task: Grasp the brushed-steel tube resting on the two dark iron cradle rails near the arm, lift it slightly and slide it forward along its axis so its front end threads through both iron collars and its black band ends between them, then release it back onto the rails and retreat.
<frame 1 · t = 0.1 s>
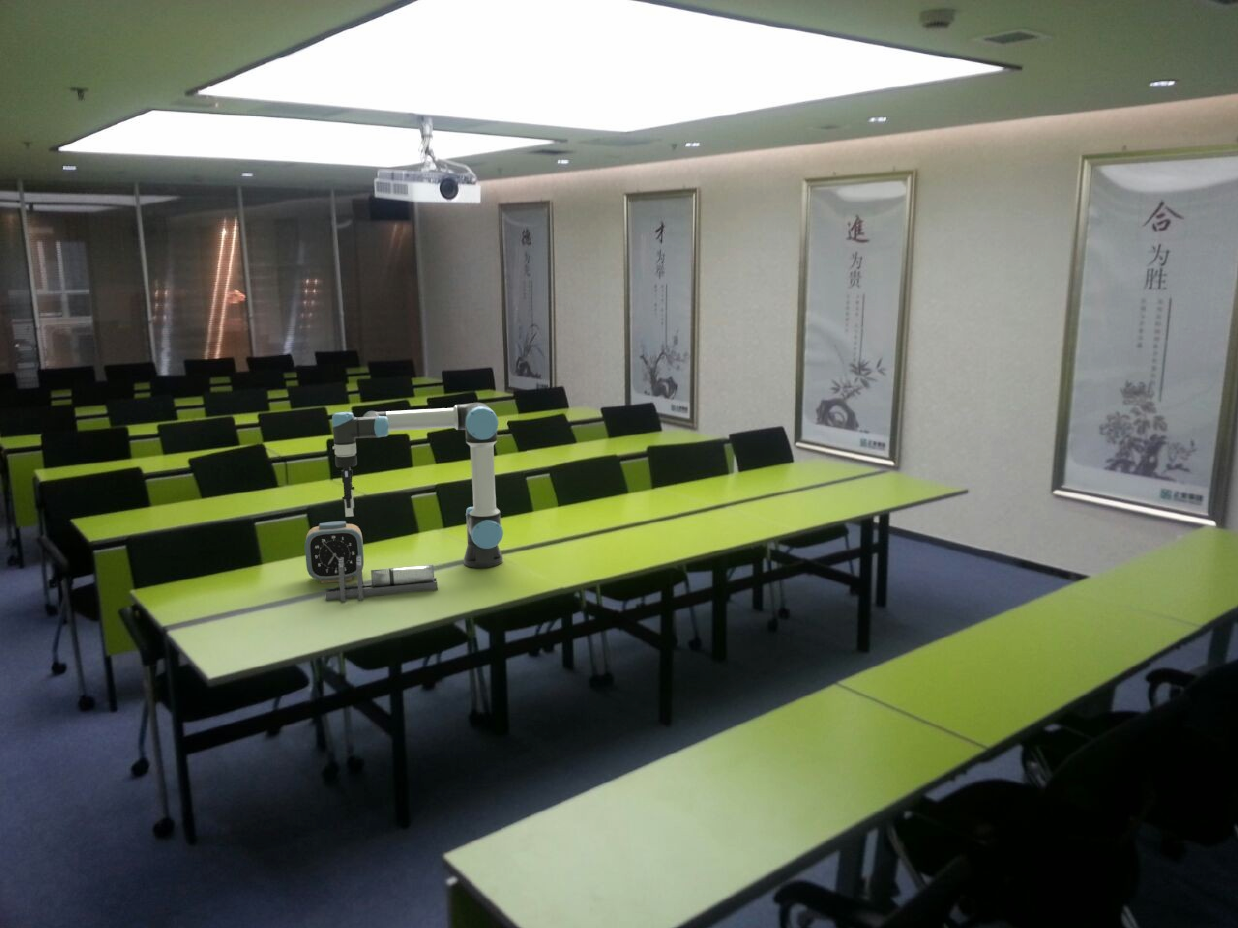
hand: (349, 512, 342), 28 cm above the table, fingers open, 13 cm apart
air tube: (403, 583, 339), point 3 cm above the table, touching gray metal rack
gray metal rack: (386, 592, 338), on the table
alarm clock: (336, 579, 355), on the table
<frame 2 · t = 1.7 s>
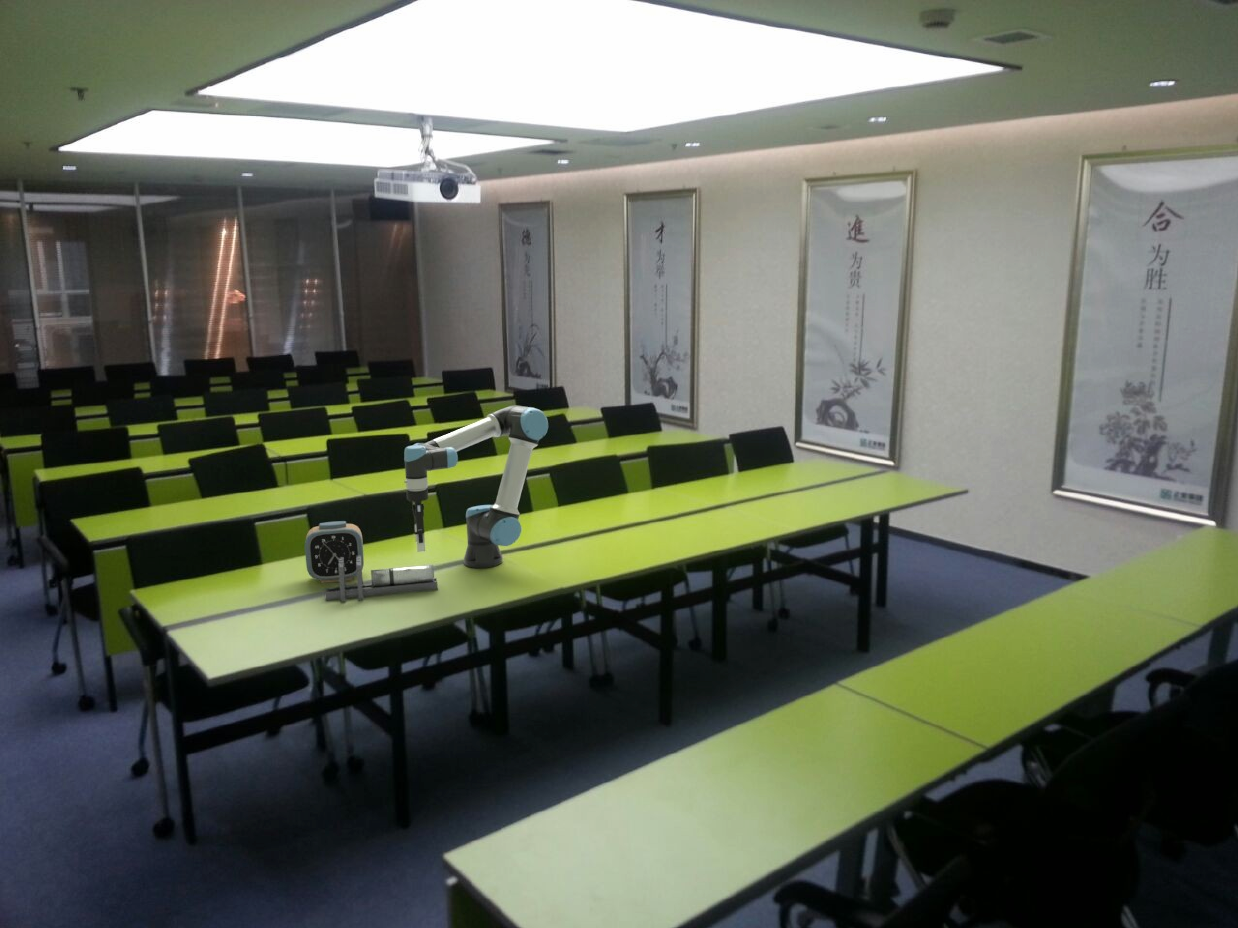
hand: (420, 546, 338), 16 cm above the table, fingers open, 13 cm apart
nothing on the table moved.
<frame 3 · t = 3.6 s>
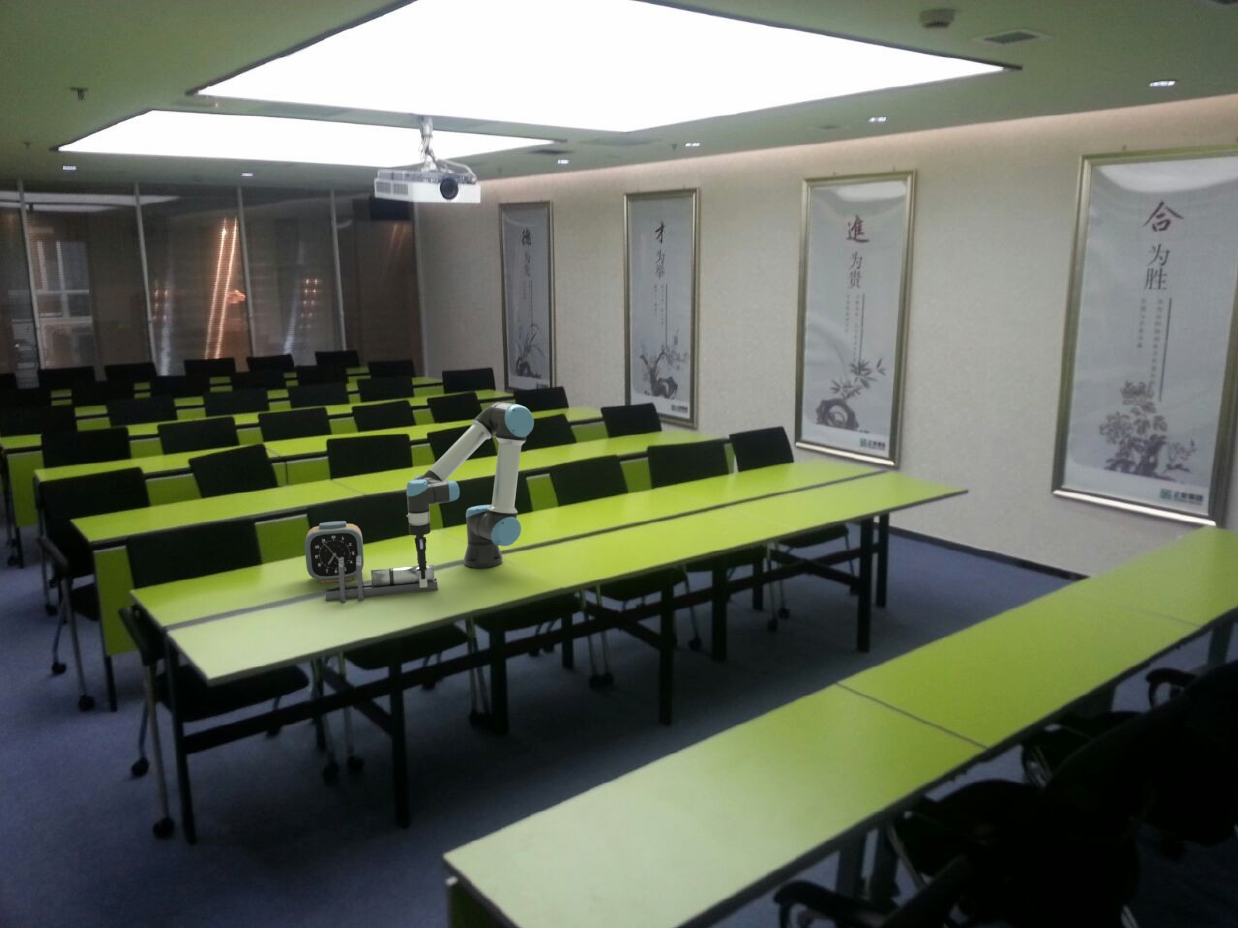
hand: (423, 584, 341), 2 cm above the table, fingers closed on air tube, 6 cm apart
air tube: (403, 583, 339), point 3 cm above the table, touching gray metal rack, gripper
everything else where it was.
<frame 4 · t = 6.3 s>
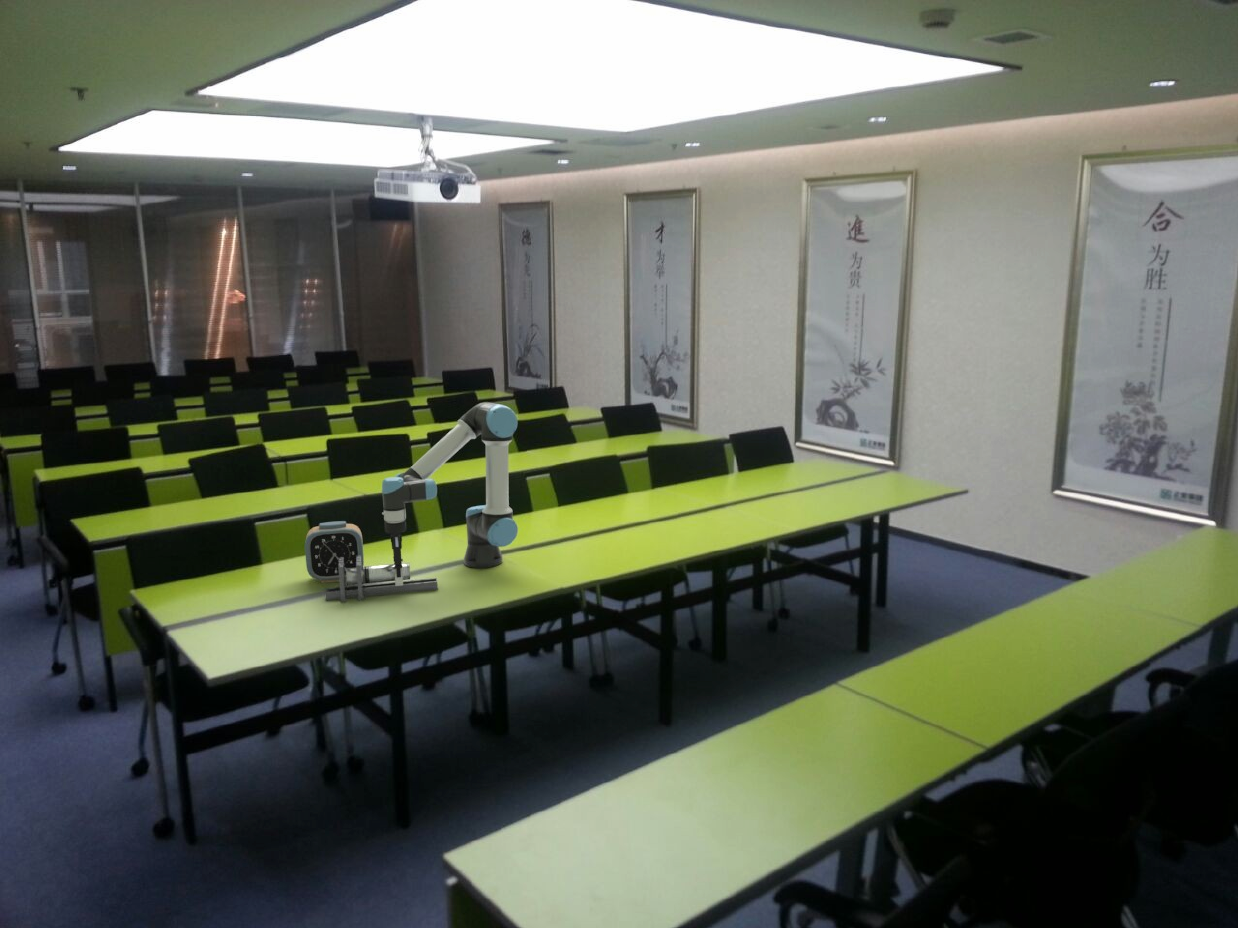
hand: (398, 582, 338), 3 cm above the table, fingers closed on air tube, 6 cm apart
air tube: (378, 581, 336), point 4 cm above the table, touching gripper
everything else where it was.
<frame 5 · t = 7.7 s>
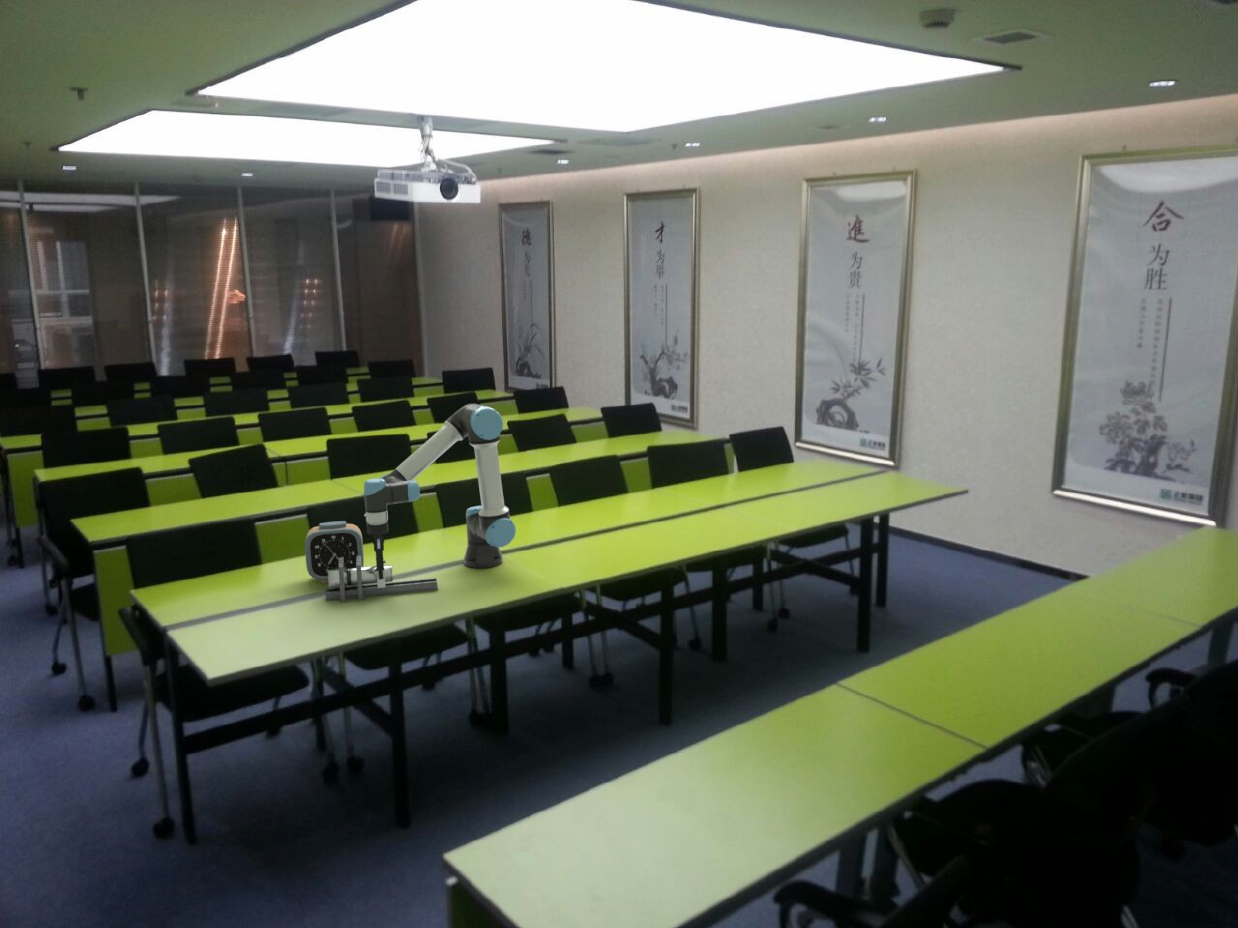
hand: (381, 584, 337), 3 cm above the table, fingers closed on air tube, 6 cm apart
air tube: (361, 583, 335), point 4 cm above the table, touching gripper
everything else where it was.
when the fingers open (3 cm above the table, at t = 8.9 s): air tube drops 1 cm, resting on gray metal rack.
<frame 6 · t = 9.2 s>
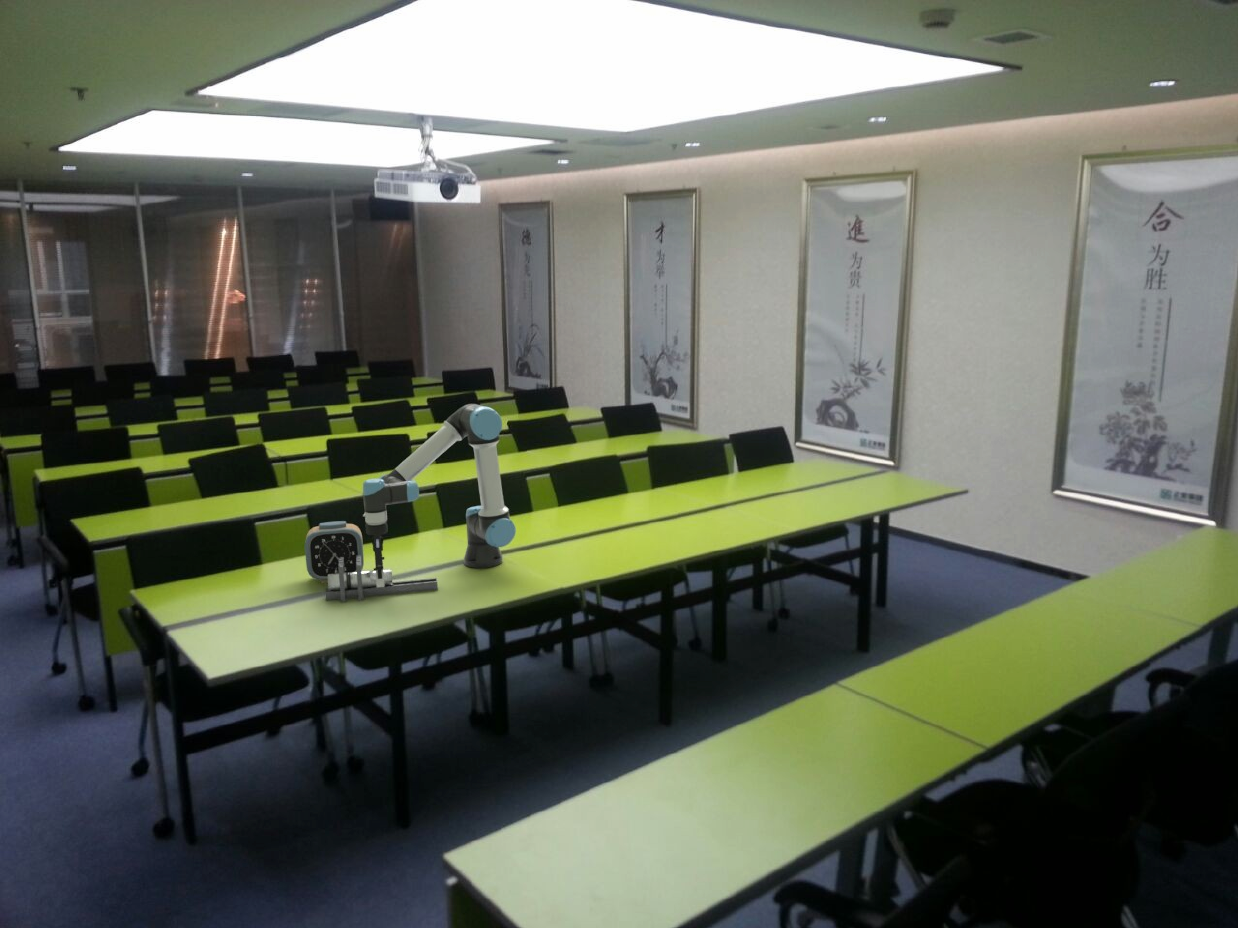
hand: (380, 582, 337), 4 cm above the table, fingers open, 10 cm apart
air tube: (361, 587, 335), point 3 cm above the table, touching gray metal rack
everything else where it was.
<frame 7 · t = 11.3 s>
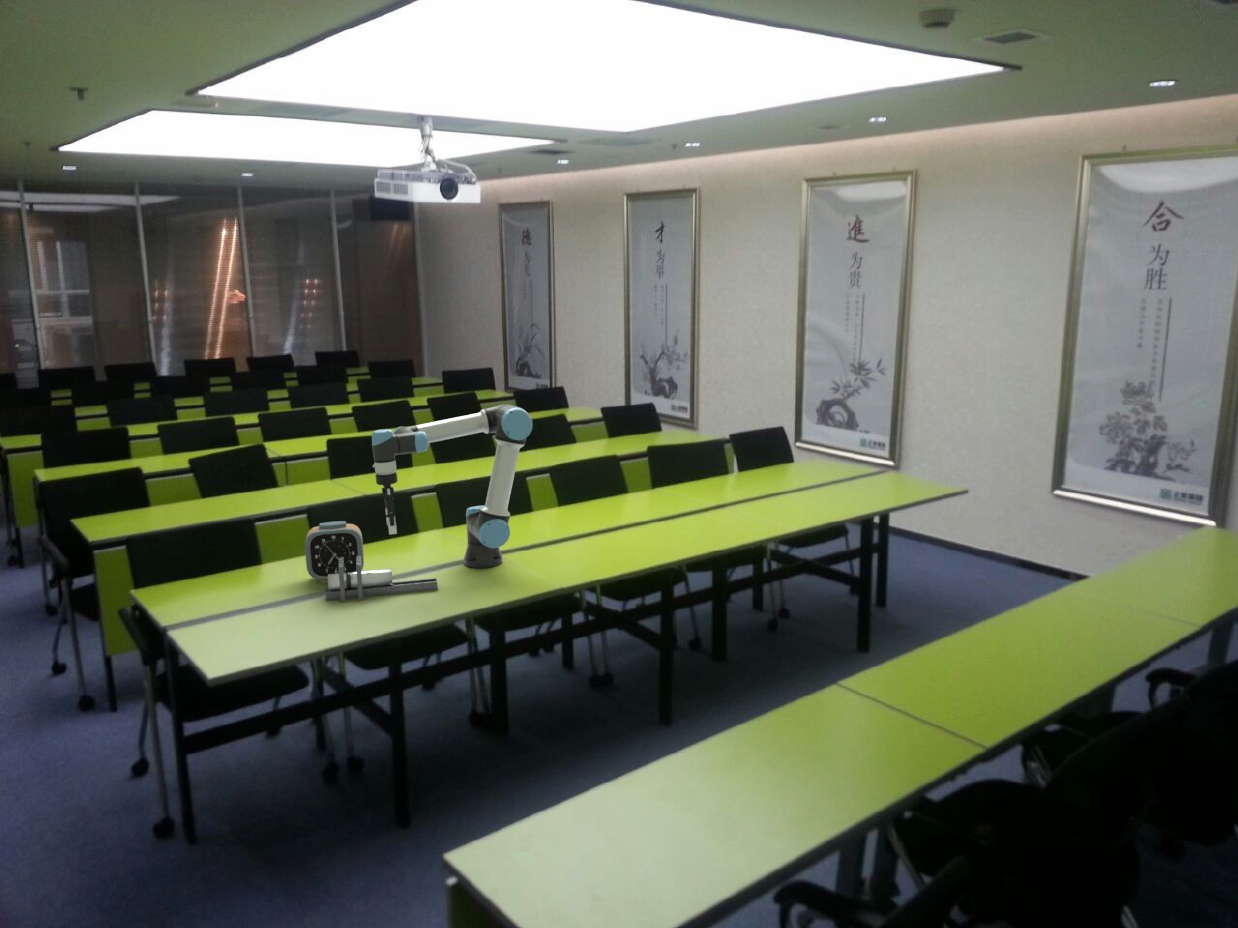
hand: (391, 529, 341), 22 cm above the table, fingers open, 13 cm apart
nothing on the table moved.
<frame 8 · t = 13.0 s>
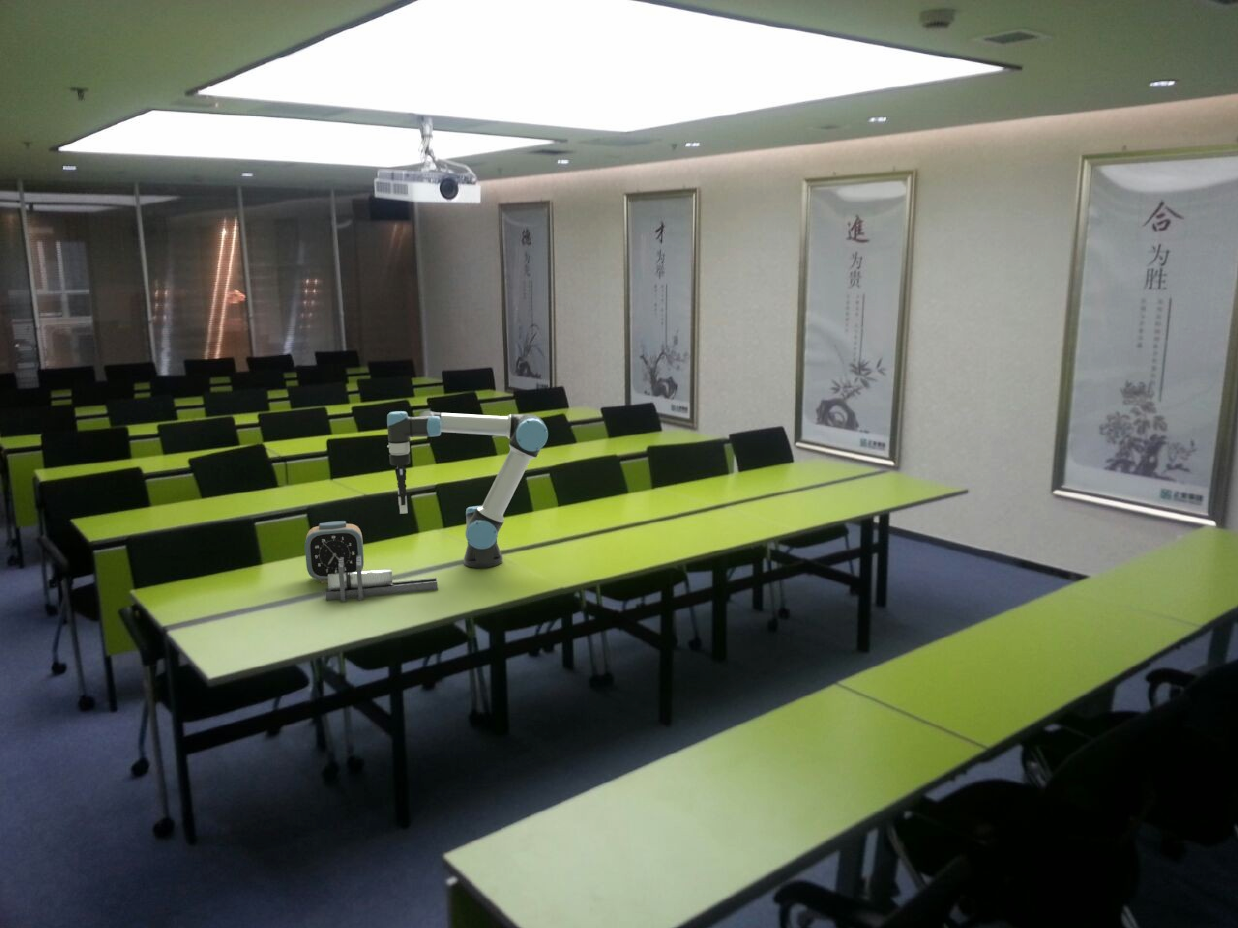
hand: (403, 509, 350), 27 cm above the table, fingers open, 13 cm apart
nothing on the table moved.
at the end: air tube 0.2 cm from the target spot on the gray metal rack, point 2.8 cm above the gray metal rack's base; the gripper is holding nothing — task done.
